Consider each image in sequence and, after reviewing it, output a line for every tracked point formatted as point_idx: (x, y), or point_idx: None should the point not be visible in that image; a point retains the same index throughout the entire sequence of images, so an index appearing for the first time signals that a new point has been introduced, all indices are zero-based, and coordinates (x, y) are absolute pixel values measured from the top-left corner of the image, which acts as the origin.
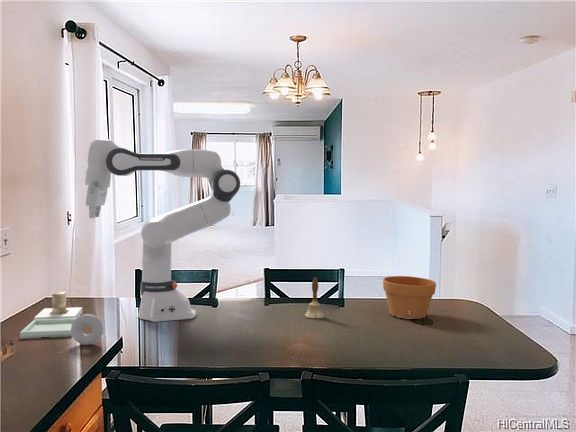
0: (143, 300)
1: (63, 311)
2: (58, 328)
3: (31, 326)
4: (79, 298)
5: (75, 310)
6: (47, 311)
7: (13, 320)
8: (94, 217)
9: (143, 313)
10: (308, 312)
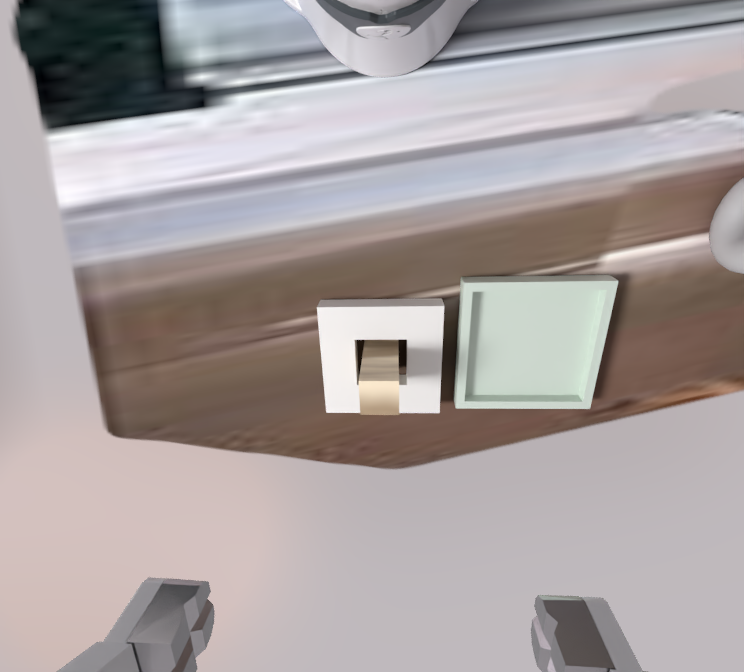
0: (428, 24)
1: (398, 350)
2: (529, 328)
3: (513, 398)
4: (100, 349)
5: (363, 320)
6: None
7: (385, 456)
8: (575, 601)
9: (441, 36)
10: None
